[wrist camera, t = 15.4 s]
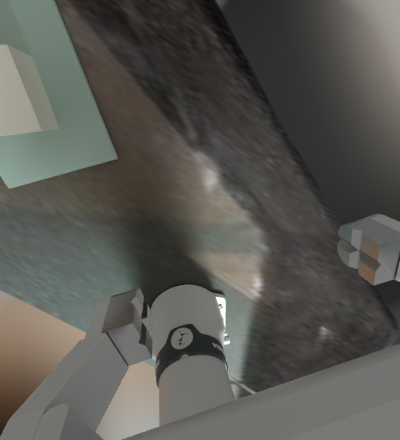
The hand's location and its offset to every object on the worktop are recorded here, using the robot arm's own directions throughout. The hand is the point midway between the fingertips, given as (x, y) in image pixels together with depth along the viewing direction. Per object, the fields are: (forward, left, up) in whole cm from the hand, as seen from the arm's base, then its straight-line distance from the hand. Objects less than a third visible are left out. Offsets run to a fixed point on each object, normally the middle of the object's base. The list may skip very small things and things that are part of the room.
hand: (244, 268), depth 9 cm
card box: (+12, +17, -28) cm, 35 cm away
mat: (+12, +17, -29) cm, 36 cm away
